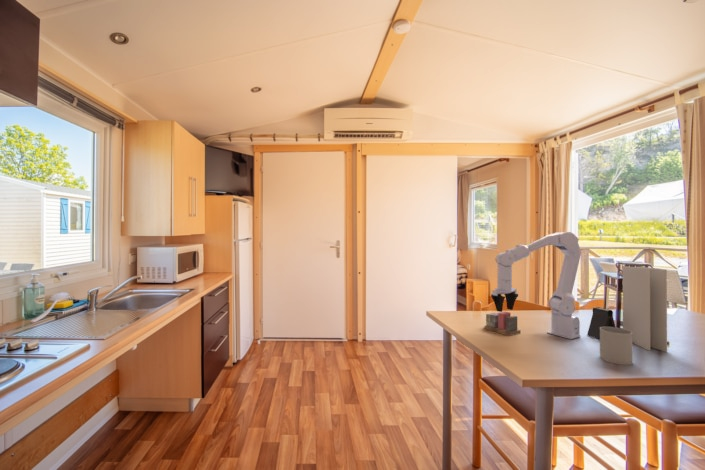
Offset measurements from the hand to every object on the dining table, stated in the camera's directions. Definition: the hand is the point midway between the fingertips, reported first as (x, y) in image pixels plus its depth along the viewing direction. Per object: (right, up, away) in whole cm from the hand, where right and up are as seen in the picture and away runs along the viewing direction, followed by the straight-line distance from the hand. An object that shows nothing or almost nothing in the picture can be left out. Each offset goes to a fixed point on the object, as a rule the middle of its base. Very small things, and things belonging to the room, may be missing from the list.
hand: (504, 310), depth 132 cm
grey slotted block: (-1, -9, +1) cm, 9 cm away
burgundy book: (0, -8, 0) cm, 8 cm away
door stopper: (+38, -10, -7) cm, 40 cm away
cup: (+23, -9, -30) cm, 39 cm away
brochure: (+46, -10, -16) cm, 50 cm away
